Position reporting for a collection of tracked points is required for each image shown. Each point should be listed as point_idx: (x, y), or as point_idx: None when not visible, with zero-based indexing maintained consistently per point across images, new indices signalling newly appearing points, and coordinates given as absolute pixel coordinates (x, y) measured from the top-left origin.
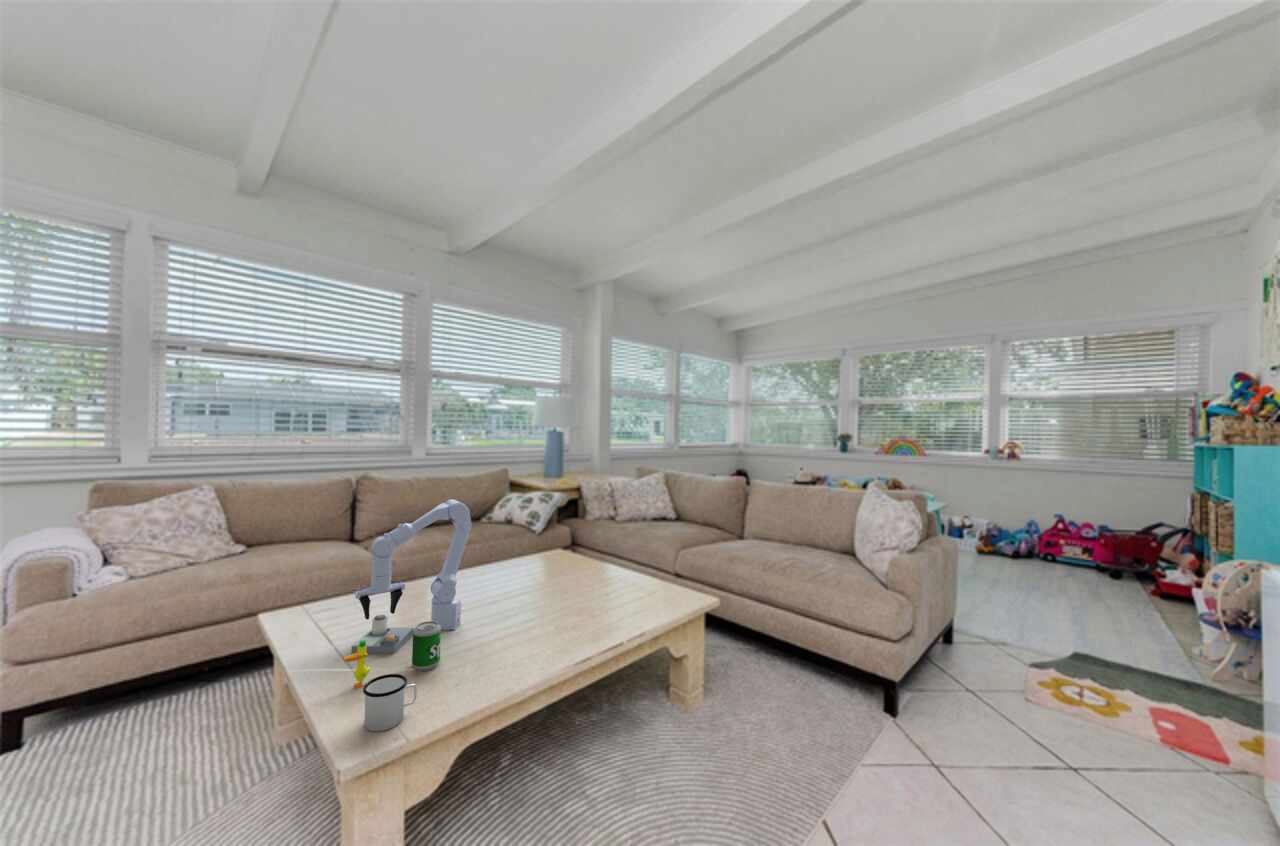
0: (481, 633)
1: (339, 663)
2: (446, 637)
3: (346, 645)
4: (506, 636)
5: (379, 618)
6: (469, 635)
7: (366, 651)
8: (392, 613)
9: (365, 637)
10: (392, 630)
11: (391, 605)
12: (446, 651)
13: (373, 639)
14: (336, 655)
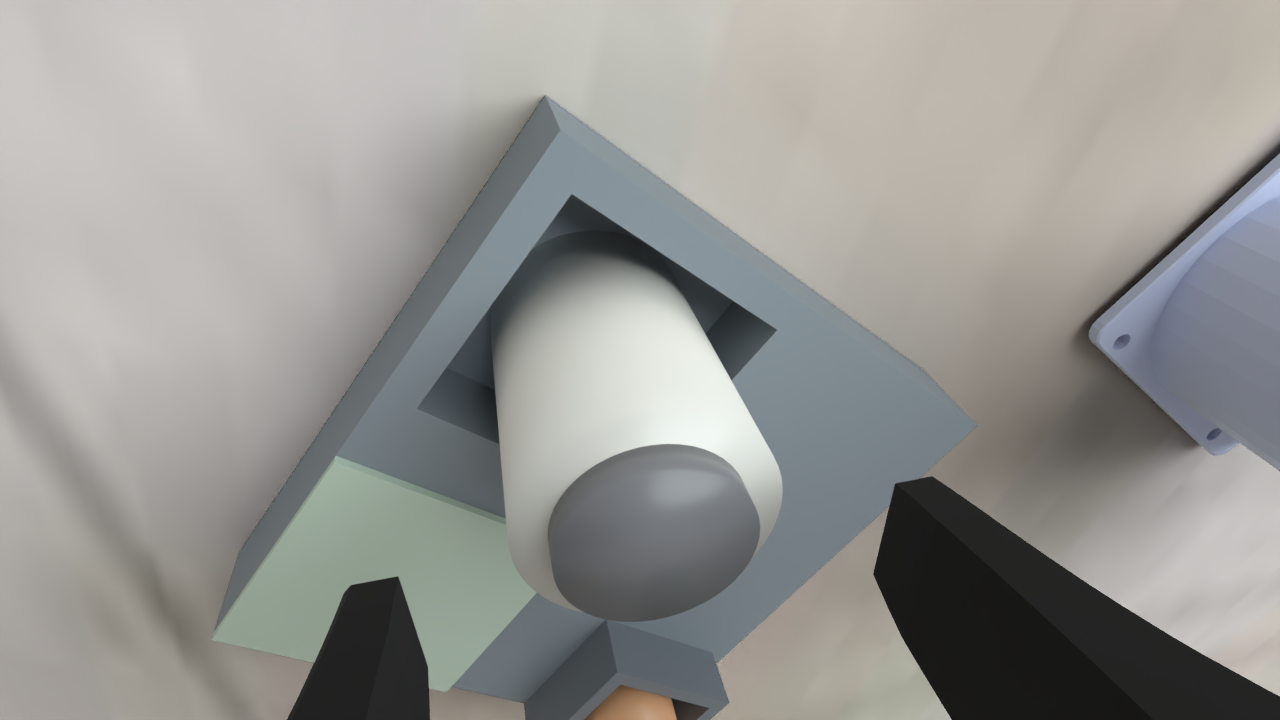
0: (1240, 571)
1: (134, 674)
2: (1063, 542)
3: (129, 288)
4: (1262, 651)
5: (625, 620)
6: (1175, 570)
7: None
8: (878, 581)
9: (389, 488)
10: (759, 398)
11: (991, 638)
12: (914, 712)
13: (483, 571)
14: (47, 518)
